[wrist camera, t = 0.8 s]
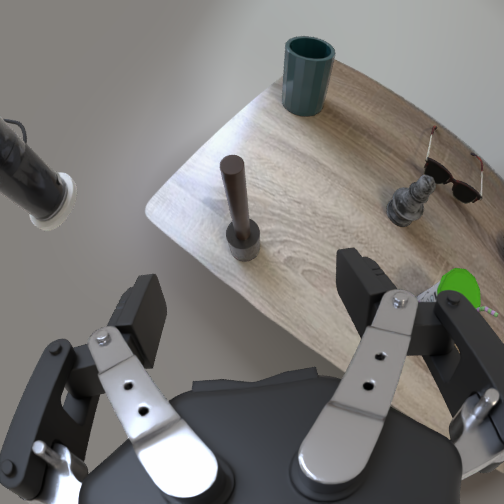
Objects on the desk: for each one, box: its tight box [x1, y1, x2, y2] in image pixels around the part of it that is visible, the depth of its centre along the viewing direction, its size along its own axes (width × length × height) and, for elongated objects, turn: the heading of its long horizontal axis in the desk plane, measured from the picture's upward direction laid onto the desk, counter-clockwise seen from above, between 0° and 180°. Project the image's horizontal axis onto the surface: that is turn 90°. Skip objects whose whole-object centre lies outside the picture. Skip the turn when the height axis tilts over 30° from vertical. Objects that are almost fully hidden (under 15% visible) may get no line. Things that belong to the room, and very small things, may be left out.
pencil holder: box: [282, 36, 335, 116], centre depth 46 cm, size 8×8×14 cm
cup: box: [417, 268, 498, 317], centre depth 33 cm, size 8×8×15 cm
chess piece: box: [387, 175, 436, 227], centre depth 39 cm, size 6×6×12 cm
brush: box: [220, 155, 260, 261], centre depth 34 cm, size 4×4×22 cm
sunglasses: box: [424, 126, 483, 204], centre depth 46 cm, size 14×16×5 cm
